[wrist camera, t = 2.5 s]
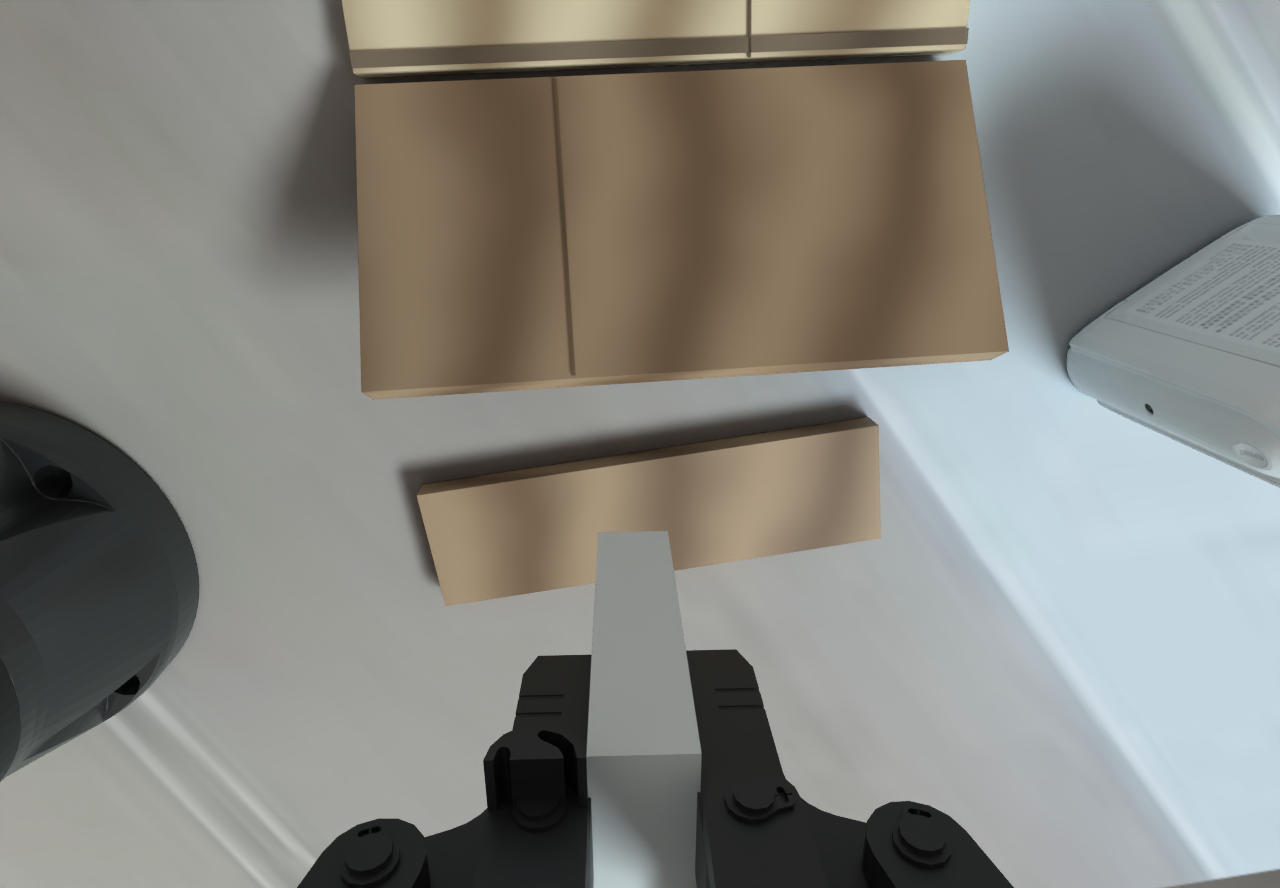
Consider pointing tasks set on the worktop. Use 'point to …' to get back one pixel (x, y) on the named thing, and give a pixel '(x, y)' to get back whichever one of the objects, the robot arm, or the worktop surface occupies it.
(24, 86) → the worktop surface
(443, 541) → the plank
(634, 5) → the light wood flat board
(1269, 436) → the photo printer
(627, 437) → the worktop surface
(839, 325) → the plank
